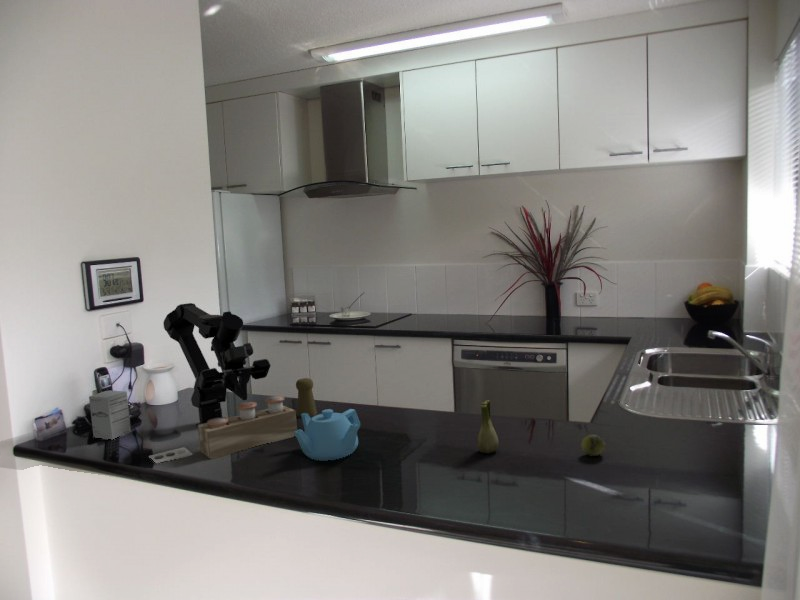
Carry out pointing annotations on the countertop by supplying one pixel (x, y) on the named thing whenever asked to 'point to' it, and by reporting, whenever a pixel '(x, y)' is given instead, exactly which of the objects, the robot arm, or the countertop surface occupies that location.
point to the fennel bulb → (487, 431)
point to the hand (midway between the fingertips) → (245, 399)
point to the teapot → (329, 435)
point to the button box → (247, 432)
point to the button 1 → (217, 422)
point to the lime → (593, 445)
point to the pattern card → (170, 455)
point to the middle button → (247, 410)
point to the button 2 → (275, 404)
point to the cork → (305, 397)
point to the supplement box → (110, 414)
